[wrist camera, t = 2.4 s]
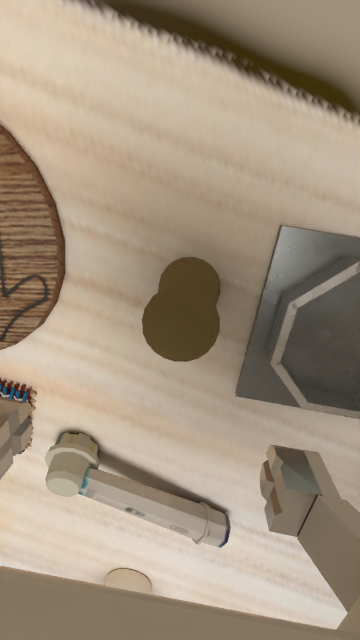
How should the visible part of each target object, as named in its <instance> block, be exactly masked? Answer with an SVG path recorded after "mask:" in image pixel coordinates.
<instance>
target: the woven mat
mask: <svg viewBox="0 0 360 640" xmlns="http://www.w3.org/2000/svg"><path fill="white" fill-rule="evenodd" d="M30 395H31V397H32V398H33V397H34V396H36V393H35V392H34V390H31V389H27V388H25V386H23V385H22V387H21V386H18V385H17V384H15V385H14V384H11V383H8V382H4V381H1V380H0V397H5V398H10V399H15V400H20V401H24V402H28V403H30V401H31V402H36V400H34V399H31V398H30ZM34 409H35V408H34V406H31V413H30V414H29V415H30V416H32V411H34ZM29 415H28V416H29ZM29 419H30V420H31V421H32V419H31V418H29ZM32 430H33V429H32ZM32 434H33V432H32ZM32 434H31V435H32ZM28 443H31V438H30V439H29V442H28ZM27 446H29V447H31V445H30V444H27V445H26V447H25V448H24V449H23V451H22V452H24V451H25V449H27V448H28V447H27ZM22 452H20V453H18V454H21V453H22Z"/></svg>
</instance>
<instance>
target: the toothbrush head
mask: <svg viewBox="0 0 360 640" xmlns="http://www.w3.org/2000/svg"><path fill="white" fill-rule="evenodd" d="M98 454H99V449H98V445H97V444H95V443H94V442H93V441H92V440H91V439H90V436H88V435H85V434H82V433H79V434H78V435H77V434H70V433H69V432H67V433H64V434H62V435H60V436H59V438H58V440H57V442H56V444H55V445H54V446H52V447H50V449H49V451H48V453H47V455H46V457H45V461H46V463H47V465H48V467H49V470H48V473H47V476H46V485H47V488H48V490H50V491H51V492H53V493H54V494H57V495H60V496H74V495H77V494H81V495H83V496H86V497H88V498H91V499H94V500H96V501H99V502H101V503H104V504H106V505H109V506H111V507H114V508H116V509H119V510H121V511H124V512H126V513H129V514H131V515H134V516H136V517H139V518H142V519H144V520H147V521H149V522H152V523H154V524H157V525H159V526H162V527H164V528H167V529H169V530H172V531H174V532H177V533H179V534H182V535H184V536H187V537H190V538H192V540H193V541H194V542H195V543H196V544H198V545H199V544H200V543H201V542H204V543H207V544H210V545H213V546H217V547H220V548H221V547H222V546H223V545H225V544H226V543H227V542H228V538H229V533H230V529H231V527H230V521H229V516H228V515H227V514H225V513H224V512H221V511H219V510H216V509H213V508H211V507H209V506H208V505H207V504H205V503H204V502H202V501H201V502H200V503H196V502H193V501H190V500H187V499H184V498H181V497H178V496H176V495H173V494H170V493H167V492H164V491H161V490H158V489H155V488H152V487H149V486H146V485H143V484H140V483H137V482H134V481H131V480H128V479H125V478H122V477H119V476H116V475H113V474H110V473H107V472H104V471H101V470H98V467H99V461H98V458H97V457H98Z"/></svg>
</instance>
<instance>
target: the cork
mask: <svg viewBox="0 0 360 640" xmlns="http://www.w3.org/2000/svg"><path fill="white" fill-rule="evenodd" d="M219 294H220V281H219V278H218V275H217V273H216V272H215V270H214V269H213V267H212V266H211V265H209V264H208V263H206V262H205V261H204V260H201V259H197V258H194V257H191V258H181V259H179V260H176V261H174V262H172V263H171V264H170V265H169V266H167V267H166V269H165V270H164V272H163V274H162V275H161V279H160V283H159V289H158V293H157V294H156V295H154V296H153V297H152V299H151V300H150V302H149V303H148V305H147V306H146V308H145V310H144V314H143V318H142V325H143V334H144V336H145V339H146V341H147V343H148V345H149V346H150V347H151V348H152V349H153V350H154V351H155V352H156V353H157V354H159V355H160V356H162V357H164V358H166V359H169V360H172V361H184V362H187V361H191V360H194V359H198V358H199V357H201V356H202V355H204V354H206V353H207V352H208V351H209V350H210V348H211V347H212V346H213V345H214V343H215V341H216V339H217V336H218V333H219V321H220V319H219V315H218V312H217V309H216V303H217V300H218V297H219Z"/></svg>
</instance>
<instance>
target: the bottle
mask: <svg viewBox="0 0 360 640" xmlns="http://www.w3.org/2000/svg"><path fill="white" fill-rule="evenodd" d="M104 586H109V587H114V588H120V589H125V590H130V591H135V592H140V593H146V594H150V593H151V583H150V582H149V580H148V579H147V577H145V576H144V575H143V574H141V573H139V572H137V571H134V570H130V569H117V570H114V571H112V572H111V573H109V574H108V575H107V577H106V580H105V584H104Z"/></svg>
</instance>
